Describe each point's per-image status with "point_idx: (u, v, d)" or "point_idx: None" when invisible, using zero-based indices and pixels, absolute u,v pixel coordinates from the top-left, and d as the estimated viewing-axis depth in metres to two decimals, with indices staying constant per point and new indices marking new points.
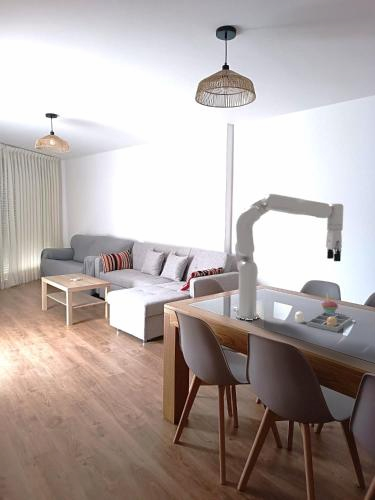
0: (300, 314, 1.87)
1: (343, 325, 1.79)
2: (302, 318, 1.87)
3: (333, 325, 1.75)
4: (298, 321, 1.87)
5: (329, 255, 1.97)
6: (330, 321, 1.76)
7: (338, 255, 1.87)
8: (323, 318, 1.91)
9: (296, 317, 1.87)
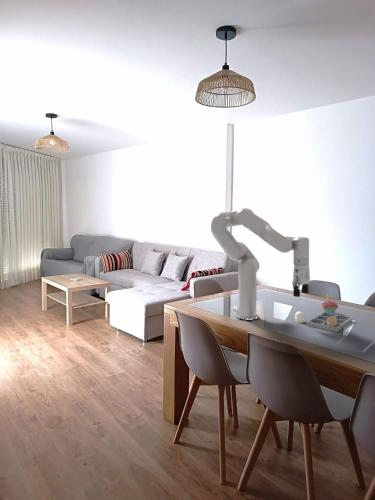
0: (300, 314, 1.87)
1: (343, 325, 1.79)
2: (302, 318, 1.87)
3: (333, 325, 1.75)
4: (298, 321, 1.87)
5: None
6: (330, 321, 1.76)
7: None
8: (323, 318, 1.91)
9: (296, 317, 1.87)
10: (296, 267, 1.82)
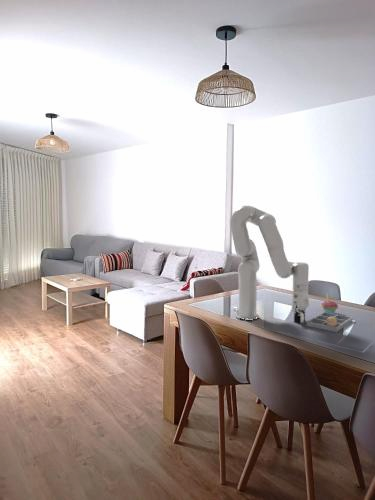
0: (300, 314, 1.87)
1: (343, 325, 1.79)
2: (302, 318, 1.87)
3: (333, 325, 1.75)
4: None
5: None
6: (330, 321, 1.76)
7: None
8: (323, 318, 1.91)
9: None
10: (295, 293, 1.84)
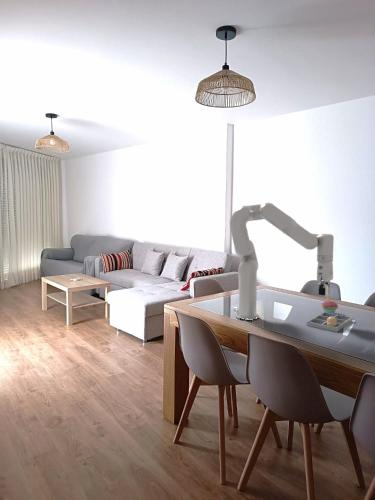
0: (325, 286, 1.84)
1: (343, 325, 1.79)
2: (327, 290, 1.84)
3: (333, 325, 1.75)
4: None
5: None
6: (330, 321, 1.76)
7: None
8: (323, 318, 1.91)
9: None
10: (320, 264, 1.81)
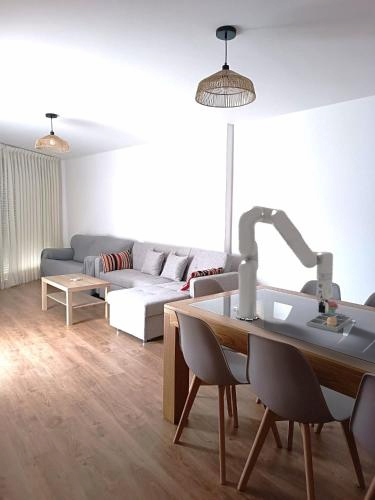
0: (325, 304, 1.85)
1: (343, 325, 1.79)
2: (327, 308, 1.85)
3: (333, 325, 1.75)
4: None
5: None
6: (330, 321, 1.76)
7: None
8: (323, 318, 1.91)
9: None
10: (320, 282, 1.82)
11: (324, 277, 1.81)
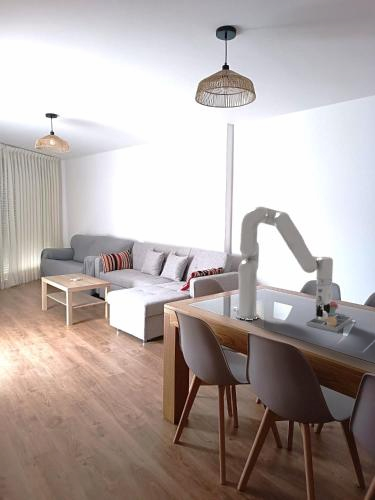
0: (324, 313, 1.85)
1: (343, 325, 1.79)
2: (326, 317, 1.86)
3: (333, 325, 1.75)
4: None
5: None
6: (330, 321, 1.76)
7: None
8: None
9: None
10: (319, 287, 1.82)
11: (324, 282, 1.82)
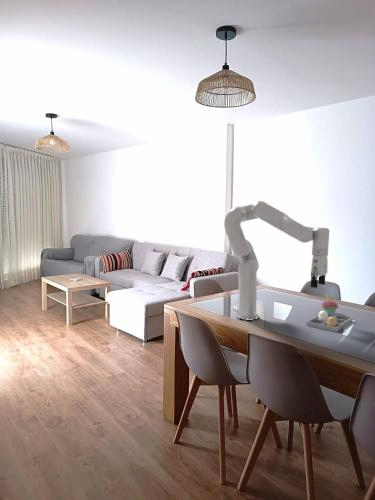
0: (324, 313, 1.85)
1: (343, 325, 1.79)
2: (326, 317, 1.85)
3: (333, 325, 1.75)
4: None
5: None
6: (330, 321, 1.76)
7: None
8: None
9: (320, 316, 1.86)
10: (315, 257, 1.80)
11: (319, 252, 1.79)
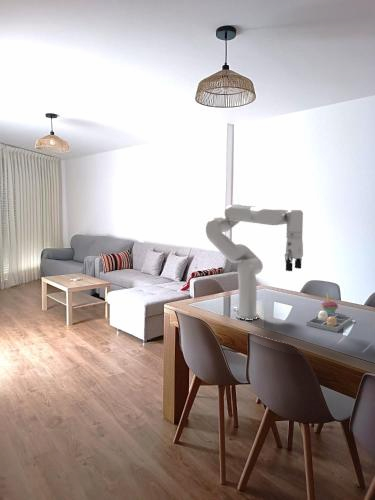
0: (323, 313, 1.85)
1: (343, 325, 1.79)
2: (326, 317, 1.86)
3: (333, 325, 1.75)
4: None
5: None
6: (330, 321, 1.76)
7: None
8: None
9: (319, 316, 1.87)
10: (289, 240, 1.77)
11: (293, 235, 1.76)
